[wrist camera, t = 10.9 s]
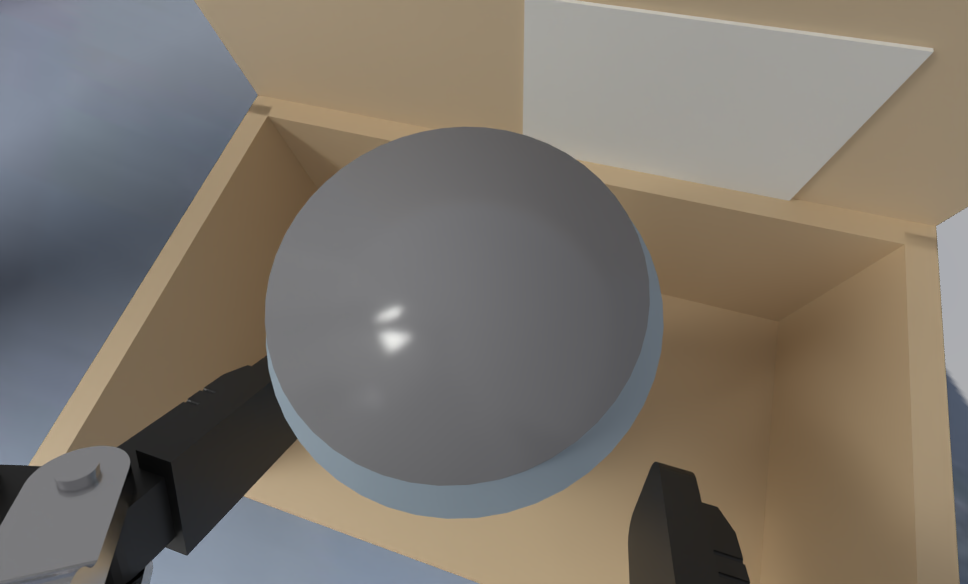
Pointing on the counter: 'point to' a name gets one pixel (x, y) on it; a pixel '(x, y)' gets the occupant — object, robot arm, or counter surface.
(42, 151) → the counter surface
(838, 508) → the mailer
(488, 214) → the canister
